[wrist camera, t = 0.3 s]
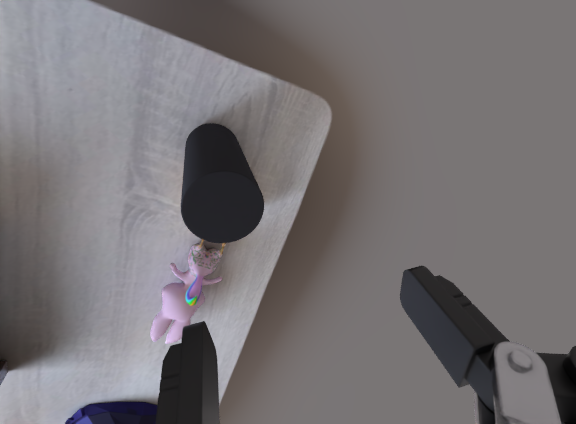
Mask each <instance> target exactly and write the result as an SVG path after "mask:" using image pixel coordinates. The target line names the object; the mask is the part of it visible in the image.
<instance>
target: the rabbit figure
mask: <svg viewBox="0 0 576 424" xmlns="http://www.w3.org/2000/svg"><path fill="white" fill-rule="evenodd" d="M203 241H204V240H203V239H202V241H201V244H195V245H193V246H192V248H191V250H190V252H189V257H188V260H189V267H190V269H189V270H188V271H187V272H185V273H183V272H180V271H179V270H178V269H177V268H176V265H175V264H174V263H171V264H170V267H171V269H172V271H173V273H174V274H175V275H176V276H177V277H178V278H179V279H181V280H182V281H183V282H184V283H171V284H169V285H167V286H165V287H164V288H163V289H162V299H163V307H162V309H161V311H160V312H159V313H158V314H157V315H156V317H155V318H154V321H153V323H152V328H151V333H150V335H151V339H152V340H153V341H154V342H155V341H157V340H158V339H159V338H160V337H161V336H163V334H164V333H165V332H166V330H167V328H168V327H169V325H170V324H171V322H172V320H173V319H174V322H173V324H172V326H171V328H170V330H169V332H168V335H167V339H166V342H165V343H167V344H168V343H173V342H176V341H178V340H179V339H181V338H182V331H183V327H184V326H188V325H190V318H191V317H192V316H193V314H194V313H195V312H196V310H197V309H198V308H199V307H200V306H201V305H202V304H203V303H204V301H205V296H204V294H203V292H202V291H201V290H202V285H210V284H214V283H217V282H220V281H222V277H217V278H215V279H205V278H204V276H206V275H209V274H211V273H212V272H213V271H214V270H215V269H216V268H217V266H218V264H219V261H220V259H221V256H222V254H223V249H224V246H226V245H225V244H226V243H222V248H221V250H217V249H214V248H213V249H210V250H206V248H205V246H204V245H203Z"/></svg>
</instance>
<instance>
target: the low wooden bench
mask: <svg viewBox="0 0 576 424" xmlns="http://www.w3.org/2000/svg"><path fill="white" fill-rule="evenodd" d="M7 373H8V368H7V361H0V385H1V383H2V381H3V380H4V378H5V376H6V374H7Z"/></svg>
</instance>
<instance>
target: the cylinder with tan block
mask: <svg viewBox="0 0 576 424" xmlns="http://www.w3.org/2000/svg"><path fill="white" fill-rule="evenodd" d="M263 211H264V200H263V196H262V193H261V191H260V188H259V186H258V184H257V182H256V180H255V178H254V176H253V173H252V171H251V169H250V167H249V165H248V163H247V160H246V158H245V156H244V154H243V152H242V150H241V147H240V145H239V143H238V141H237V139H236V137H235V136H234V134H233V133H232V132H231V131H230V130H229V129H227V128H226V127H224V126H222V125H219V124H204V125H201V126H199V127H197V128H196V129H194V130H193V131H192V132H191V133H190V135H189V137H188V139H187V141H186V147H185V160H184V173H183V186H182V199H181V214H182V218H183V221H184V223H185V225H186V226H187V227H188V229H189V230H190V231H191V232H192V233H193V234H195V235H196V236H197V237H199V238H201V239H203V240H206V241H209V242H213V243H229V242H233V241H236V240H239V239H241V238H243V237H245V236H247V235H248V234H249V233H251V232H252V231H253V230H254V229H255V228H256V226H257V225H258V224H259V222H260V220H261V218H262V215H263Z"/></svg>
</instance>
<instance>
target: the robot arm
mask: <svg viewBox="0 0 576 424" xmlns="http://www.w3.org/2000/svg"><path fill="white" fill-rule="evenodd" d="M400 300H401V303H402V306H403V308H404V310H405V312H406V313H407V314H408V316H409V317H410V319H411V320H412V322H413V323H414V324H415V326H416V327H417V329H418V330H419V332H420V333H421V334H422V336H423V337H424V339H425V340H426V341H427V343H428V344H429V345H430V347H431V348H432V350H433V351H434V353H435V354H436V356H437V357H438V359H439V360H440V361H441V363H442V364H443V366H444V367H445V369H446V370H447V371H448V373H449V374H450V376H451V377H452V379H453V380H454V381H455V383H456V384H457V386H458V387H462V386H465V385H468V384H470V385H471V386H472V388H473V389H474V391H475V392H474V408H475V424H576V346H574V347H573V348H572V349H571V351H570V352H569V353H568V354H547V353H535V352H534V351H533V350H531V349H530V348H528V347H526V346H524V345H522V344H519V343H516V342H510V341H509V340H508V339H506V337H505V336H504V335H502V333H501V332H500V331H498V329H497V328H496V327H495V326H494V325H493V324H492V323H491V322H490V321H489V320H488V319H487V318H486V317H485V316H484V315H483V314H482V313H481V312H480V311H479V310H478V309H477V307H475V306H474V305H472V303H471V301H470V300H469V299H468V298H467V297H466V296H464V295H463V293H462V292H461V291H460V290H459V289H458V288H457V287H456V286H455V285H454V284H453V283H452V282H450V281H448V280H447V279H445V278H443V277H442V276H440V275H439V276H434V275H433V274H432V273H431V272H430V271H429V270H428V269H427V268H426V267H424V266H419V267H415V268H411V269H408V270H405V271H404V272H403V278H402V285H401V293H400ZM155 424H220V421H219V395H218V369H217V355H216V349H215V346H214V343H213V340H212V338H211V335H210V333H209V330H208V328H207V325H206V323H205V322H204V321H203V322H199V323H195V324H191V325H188V326H184V327H183V331H182V343H180V344H176V345H172V346H170V348H169V350H168V352H167V354H166V356H165V358H164V360H163V365H162V374H161V382H160V393H159V398H158V406H157V414H156V422H155Z"/></svg>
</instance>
